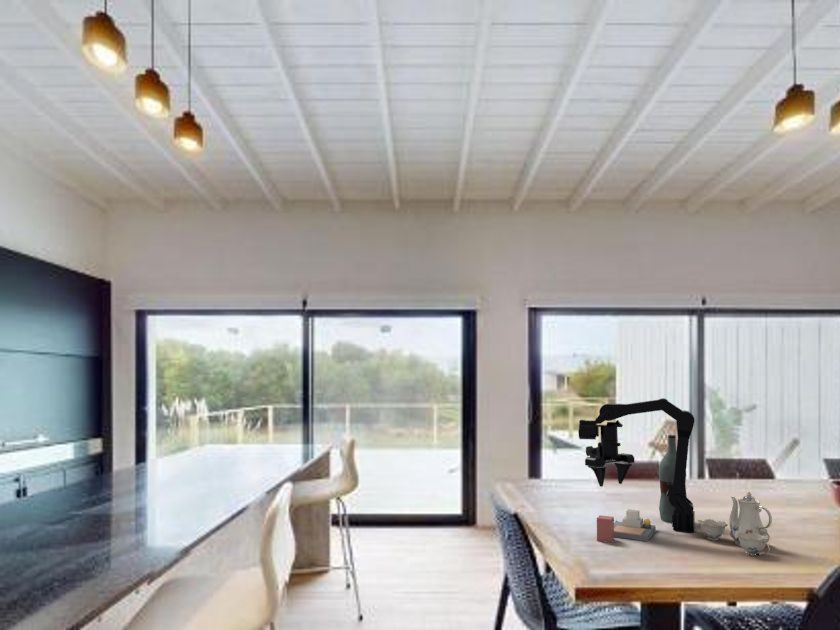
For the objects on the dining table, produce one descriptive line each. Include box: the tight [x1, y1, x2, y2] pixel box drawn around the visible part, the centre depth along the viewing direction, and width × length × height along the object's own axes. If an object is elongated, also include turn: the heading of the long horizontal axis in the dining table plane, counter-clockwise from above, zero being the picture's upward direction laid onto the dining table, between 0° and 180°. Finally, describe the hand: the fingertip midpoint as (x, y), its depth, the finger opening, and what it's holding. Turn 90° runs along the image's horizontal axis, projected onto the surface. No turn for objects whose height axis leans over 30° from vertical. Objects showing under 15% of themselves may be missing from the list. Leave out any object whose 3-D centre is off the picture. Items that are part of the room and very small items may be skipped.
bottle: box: [658, 434, 687, 524], centre depth 246 cm, size 9×9×30 cm
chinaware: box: [697, 491, 773, 556], centre depth 213 cm, size 28×17×17 cm, turn 20°
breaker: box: [625, 509, 641, 521], centre depth 230 cm, size 4×4×3 cm
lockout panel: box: [614, 515, 657, 542], centre depth 227 cm, size 13×16×4 cm
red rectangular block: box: [596, 514, 615, 543], centre depth 218 cm, size 4×4×7 cm
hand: (610, 485), depth 240 cm, fingers open, 9 cm apart
